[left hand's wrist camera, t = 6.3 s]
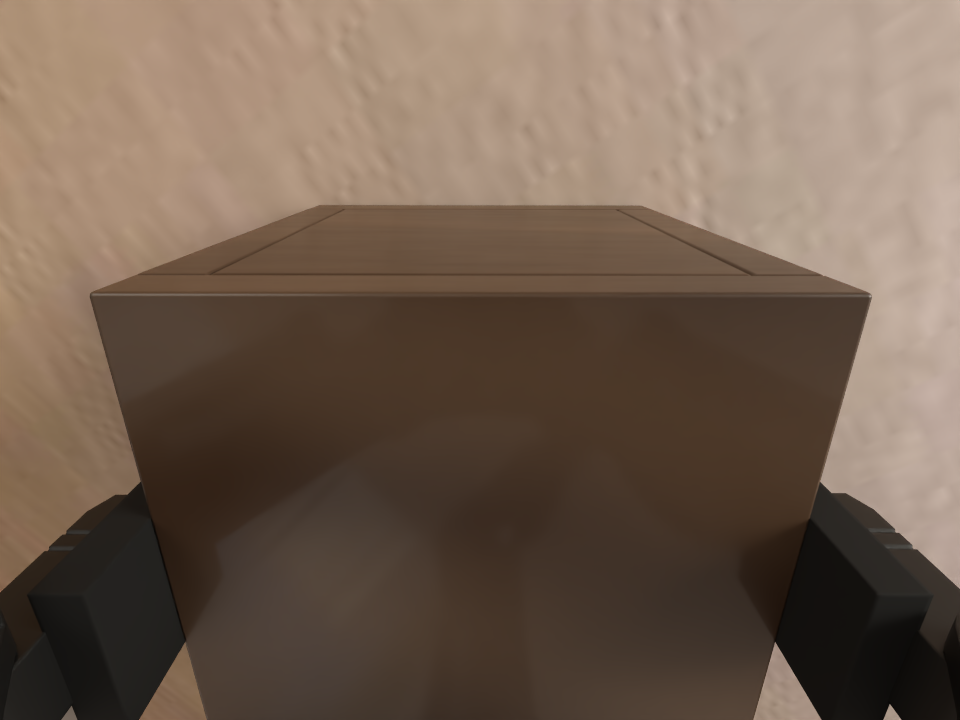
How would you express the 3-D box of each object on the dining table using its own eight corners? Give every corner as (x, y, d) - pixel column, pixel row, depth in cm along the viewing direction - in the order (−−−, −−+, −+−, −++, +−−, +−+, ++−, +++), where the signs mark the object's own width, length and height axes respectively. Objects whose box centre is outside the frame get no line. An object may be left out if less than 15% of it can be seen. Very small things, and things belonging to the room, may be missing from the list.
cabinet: (591, 666, 25) (668, 1024, 15) (367, 666, 25) (290, 1024, 15) (642, 205, 17) (875, 293, 7) (317, 204, 17) (86, 292, 7)
